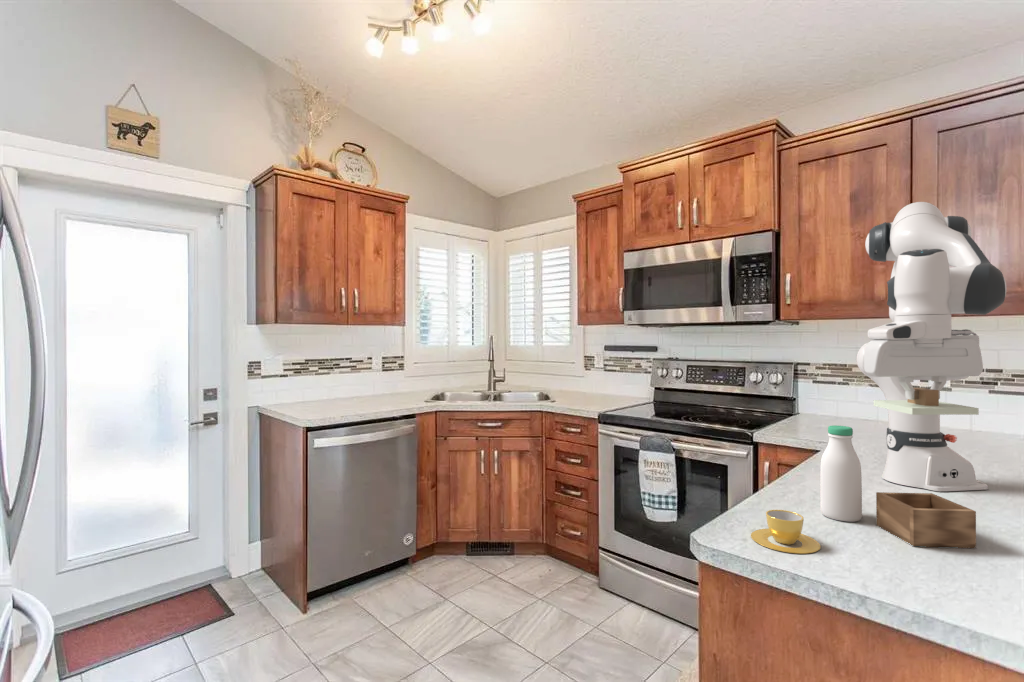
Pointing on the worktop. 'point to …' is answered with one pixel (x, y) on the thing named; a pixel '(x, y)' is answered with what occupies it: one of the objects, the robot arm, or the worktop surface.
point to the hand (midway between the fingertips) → (922, 399)
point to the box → (926, 519)
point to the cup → (785, 532)
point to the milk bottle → (840, 477)
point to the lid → (926, 405)
